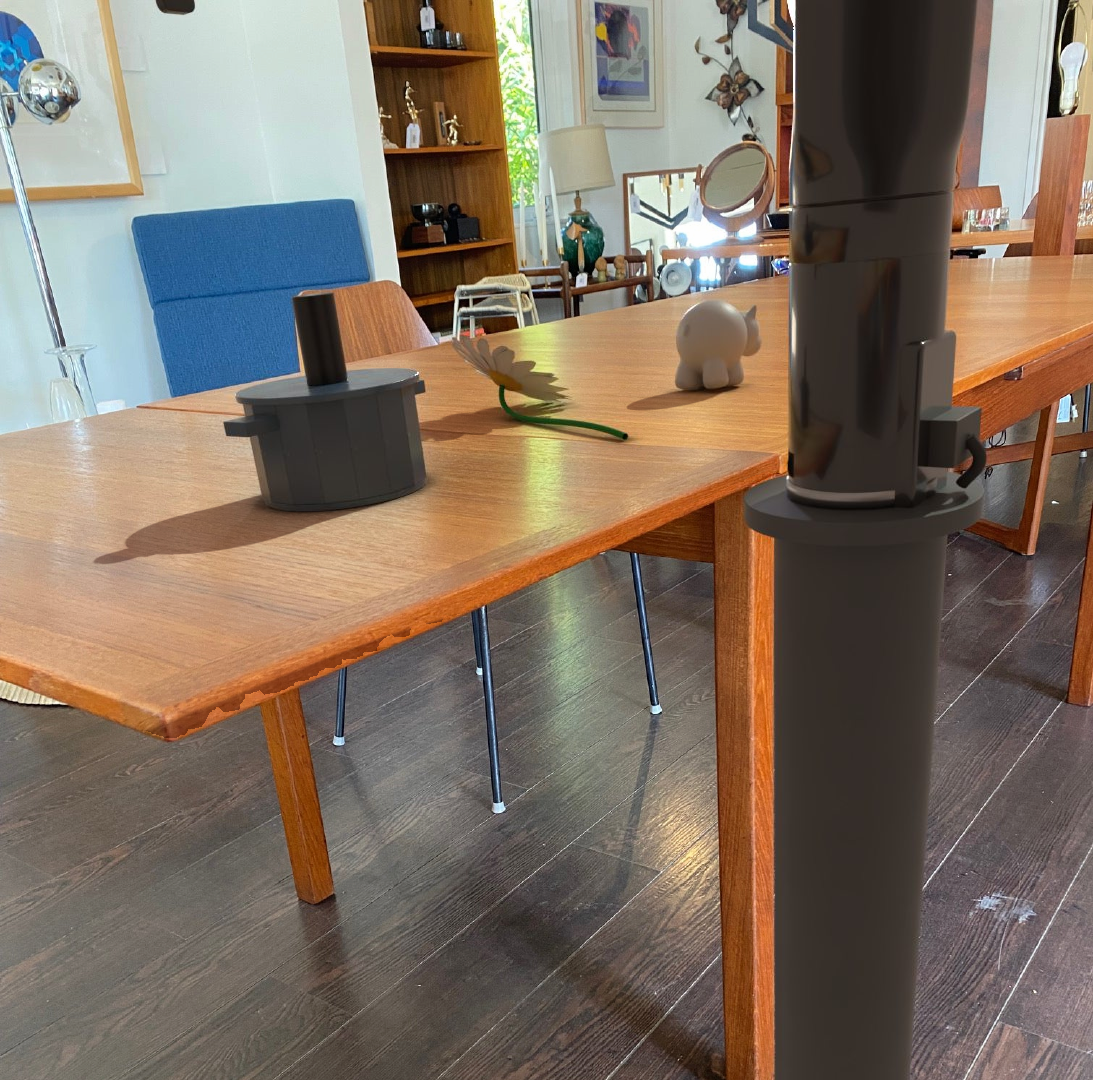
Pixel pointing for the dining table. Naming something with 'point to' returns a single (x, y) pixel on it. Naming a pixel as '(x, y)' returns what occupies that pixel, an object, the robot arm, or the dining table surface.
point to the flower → (520, 381)
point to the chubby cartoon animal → (715, 344)
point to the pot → (336, 450)
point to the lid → (323, 363)
